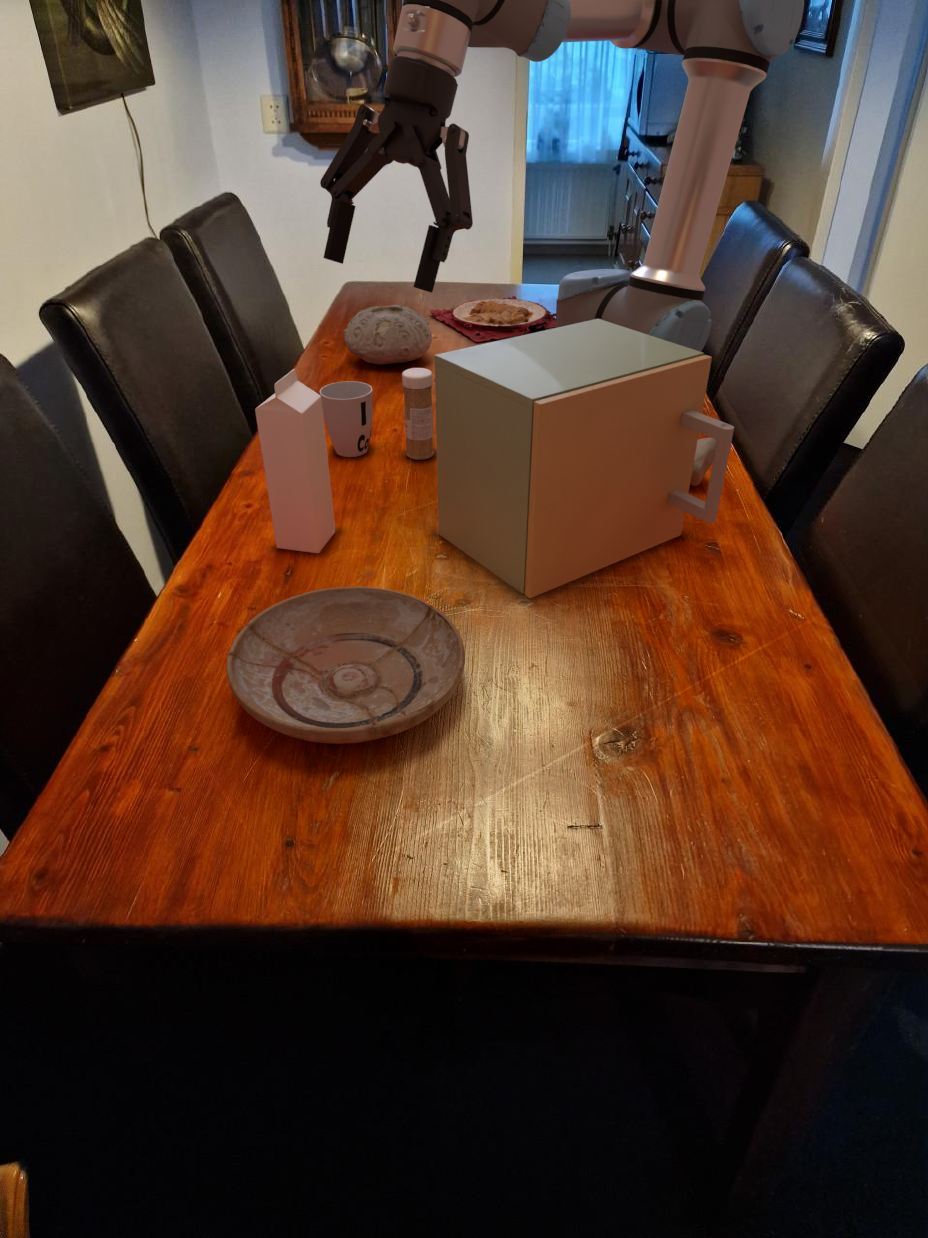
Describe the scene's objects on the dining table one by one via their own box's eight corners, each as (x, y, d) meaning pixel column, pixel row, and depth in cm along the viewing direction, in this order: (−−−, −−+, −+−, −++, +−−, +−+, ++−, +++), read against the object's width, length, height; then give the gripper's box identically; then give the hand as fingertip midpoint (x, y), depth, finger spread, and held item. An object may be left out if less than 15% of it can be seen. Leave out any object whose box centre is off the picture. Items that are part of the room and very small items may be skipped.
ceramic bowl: (262, 802, 71) (253, 761, 68) (216, 651, 88) (207, 613, 85) (503, 728, 78) (504, 688, 75) (416, 602, 96) (414, 566, 93)
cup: (368, 462, 128) (363, 400, 122) (319, 458, 129) (311, 397, 123) (382, 442, 134) (378, 382, 128) (335, 438, 135) (329, 379, 130)
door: (721, 556, 104) (760, 372, 90) (568, 626, 92) (585, 425, 78) (675, 532, 109) (705, 354, 95) (524, 595, 97) (533, 401, 83)
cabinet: (674, 532, 109) (704, 352, 96) (523, 595, 97) (532, 399, 83) (583, 484, 121) (598, 318, 107) (438, 534, 109) (434, 354, 95)
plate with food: (514, 304, 206) (514, 289, 204) (569, 327, 186) (569, 311, 184) (428, 316, 197) (427, 302, 195) (476, 342, 178) (476, 326, 176)
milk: (276, 548, 106) (248, 382, 93) (295, 526, 111) (271, 365, 98) (320, 554, 105) (297, 386, 92) (337, 531, 110) (318, 369, 97)
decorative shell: (440, 369, 164) (439, 318, 158) (352, 377, 160) (348, 325, 155) (422, 343, 178) (421, 295, 172) (341, 350, 175) (336, 301, 169)
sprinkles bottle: (406, 449, 132) (403, 366, 124) (434, 449, 132) (432, 366, 124) (404, 461, 128) (400, 376, 120) (433, 461, 128) (431, 376, 120)
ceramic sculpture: (725, 441, 112) (614, 442, 114) (718, 498, 117) (612, 498, 119) (715, 413, 121) (612, 414, 123) (708, 467, 125) (610, 468, 128)
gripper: (316, 37, 89) (276, 243, 96) (505, 69, 78) (445, 297, 86) (359, 64, 95) (319, 255, 103) (540, 98, 85) (480, 308, 92)
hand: (376, 275), depth 94 cm, fingers open, 13 cm apart
